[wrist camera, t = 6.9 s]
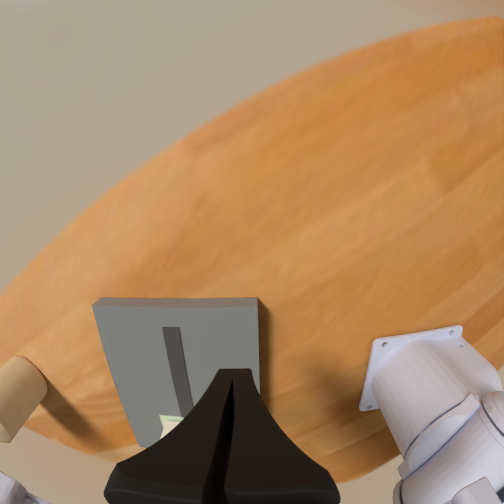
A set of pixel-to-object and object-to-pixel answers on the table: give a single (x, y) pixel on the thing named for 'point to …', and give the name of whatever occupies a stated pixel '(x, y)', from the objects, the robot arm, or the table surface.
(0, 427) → the candle
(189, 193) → the table surface
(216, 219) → the table surface
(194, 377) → the slider board
